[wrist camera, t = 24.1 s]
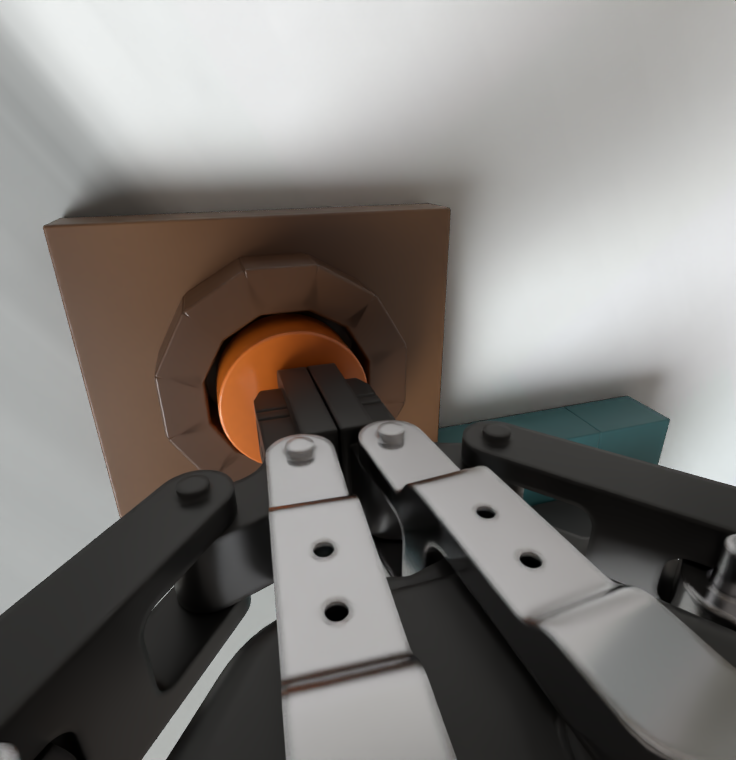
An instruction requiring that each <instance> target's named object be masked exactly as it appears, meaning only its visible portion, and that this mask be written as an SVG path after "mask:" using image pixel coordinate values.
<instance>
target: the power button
mask: <svg viewBox="0 0 736 760" xmlns="http://www.w3.org/2000/svg"><path fill="white" fill-rule="evenodd" d="M329 363H335V365H336V366H337V368H338V369H339V371H340V372H341V374H342V375H343V377H344V378H345V379H350V378H357V379H359V380H361V381H363V382H365V383H367V379H366V375H365V373H364V370H363V367H362V366H361V364H360V362H359V360H358V359H357V358H356V356H355V355H354V354H353V353H352V351H351V350H350V349H349V348H348V346H347V345H346V344H345V343H344V341H343V340H342V339H341V338H340V336H339V335H338V334H337V333H336V332H335V331H334V330H333V329H332V328H330V327H329V326H328V325H326V324H325V323H323V322H321V321H319V320H317V319H315V318H312V317H309V316H305V315H301V314H292V313H288V314H276V315H271V316H268V317H264V318H261V319H259V320H257V321H255V322H253V323H251V324H249V325H248V326H246V327H245V328H243V329H242V330H241V331H240V332H238V333H237V334H236V335H235V336H234V337H233V338H232V339H231V341H230V342H229V343H228V345H227V346H226V348H225V349H224V351H223V353H222V355H221V357H220V360H219V363H218V367H217V371H216V391H217V401H218V412H219V418H220V422H221V425H222V427H223V430H224V432H225V434H226V436H227V437H228V439H229V440H230V441H231V443H232V444H233V445H234V446H235V447H236V448H237V449H238V450H239V451H240V452H241V453H243V454H244V455H246V456H247V457H249V458H250V459H252V460H254V461H256V462H259V463H262V460H261V456H260V450H259V442H258V433H257V425H256V417H255V409H254V400H255V398H256V396H257V395H258V393H259V392H260V391H264V390H271V389H278V382H277V370H283V369H291V368H299V367H307V366H314V365H322V364H329Z"/></svg>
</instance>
